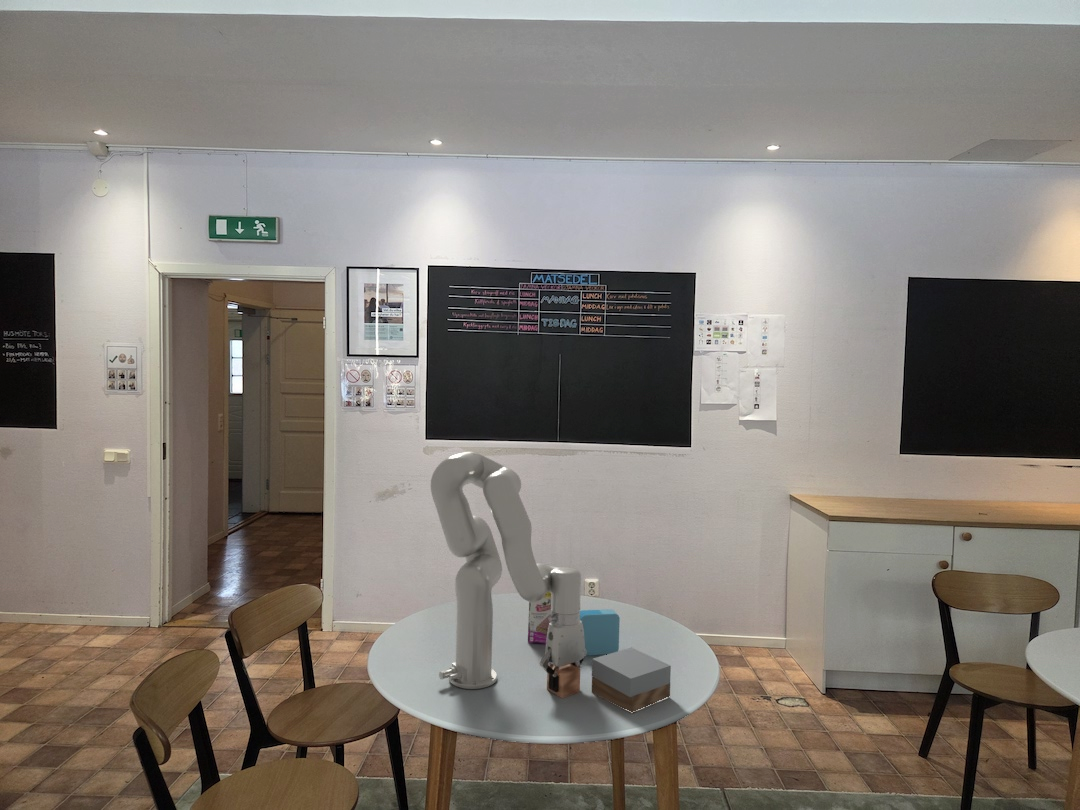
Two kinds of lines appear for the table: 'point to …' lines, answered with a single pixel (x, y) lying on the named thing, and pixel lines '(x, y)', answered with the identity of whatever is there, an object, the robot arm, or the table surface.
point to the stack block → (567, 680)
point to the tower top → (631, 671)
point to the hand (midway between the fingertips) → (563, 686)
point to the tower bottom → (626, 701)
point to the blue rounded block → (600, 631)
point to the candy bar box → (539, 619)
